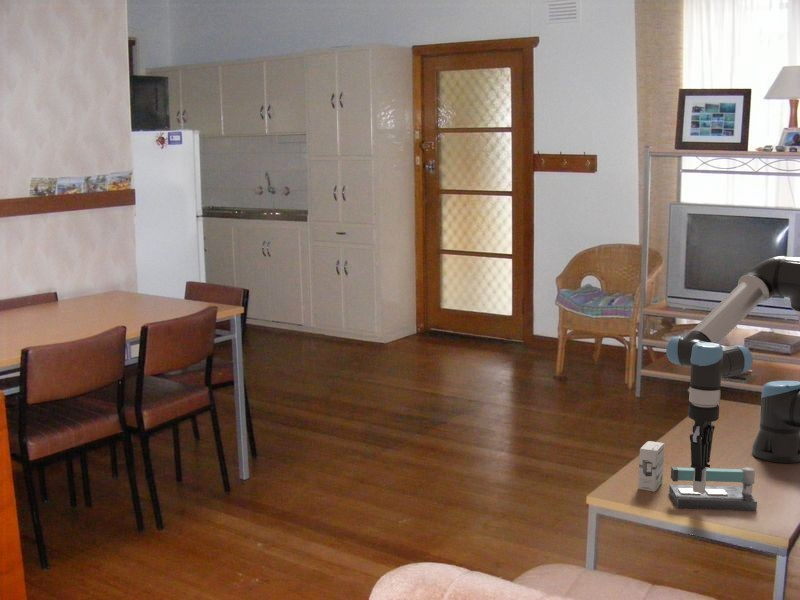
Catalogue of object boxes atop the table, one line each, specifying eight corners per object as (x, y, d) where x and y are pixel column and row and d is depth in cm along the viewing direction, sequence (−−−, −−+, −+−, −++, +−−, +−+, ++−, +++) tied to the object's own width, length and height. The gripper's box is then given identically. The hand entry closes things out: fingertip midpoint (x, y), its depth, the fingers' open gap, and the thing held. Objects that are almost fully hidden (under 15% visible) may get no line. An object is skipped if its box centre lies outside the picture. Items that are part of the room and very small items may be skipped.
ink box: (645, 479, 267) (647, 439, 266) (663, 482, 265) (665, 442, 263) (637, 489, 260) (639, 448, 258) (655, 492, 258) (657, 450, 256)
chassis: (745, 495, 255) (746, 476, 255) (757, 511, 245) (758, 491, 244) (669, 493, 257) (670, 474, 256) (677, 508, 246) (678, 488, 245)
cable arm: (752, 480, 251) (753, 467, 250) (755, 484, 247) (756, 471, 247) (670, 478, 252) (671, 465, 252) (673, 482, 249) (673, 469, 248)
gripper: (697, 395, 248) (692, 481, 252) (680, 406, 238) (676, 496, 241) (726, 400, 244) (721, 487, 248) (710, 411, 233) (705, 502, 237)
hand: (698, 491), depth 244 cm, fingers closed
